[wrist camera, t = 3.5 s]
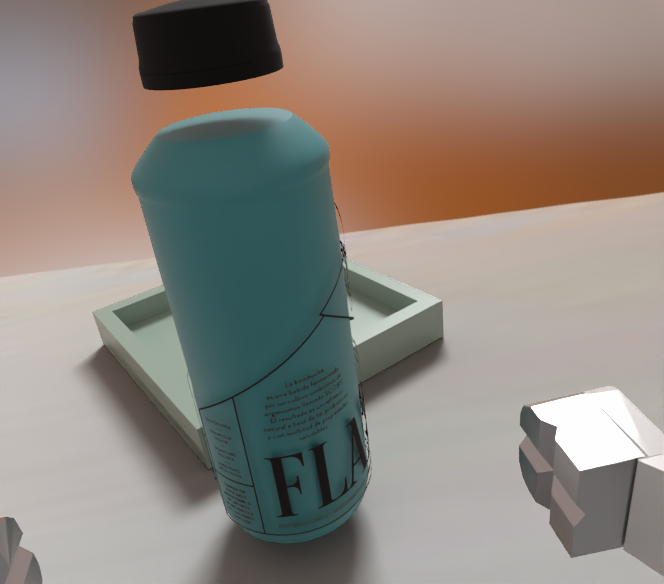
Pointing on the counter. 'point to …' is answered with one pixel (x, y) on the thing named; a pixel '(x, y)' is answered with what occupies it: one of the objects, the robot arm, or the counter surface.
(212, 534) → the counter surface
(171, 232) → the beverage bottle
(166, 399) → the tray
